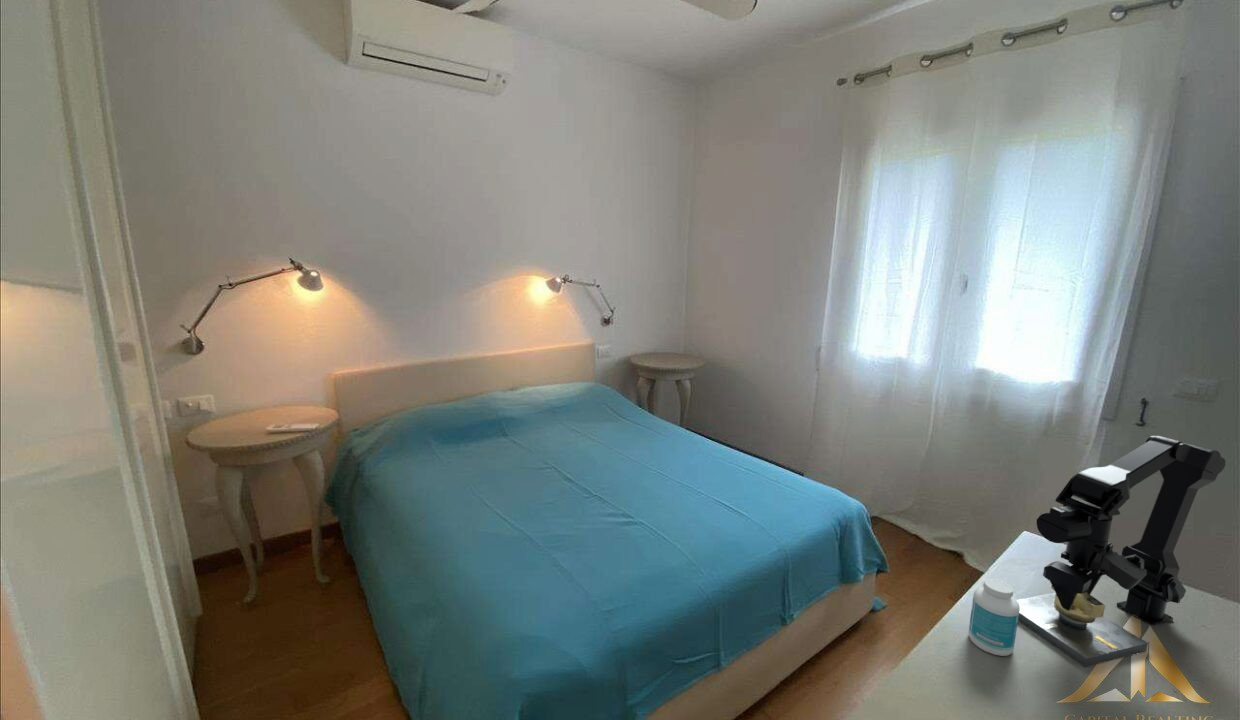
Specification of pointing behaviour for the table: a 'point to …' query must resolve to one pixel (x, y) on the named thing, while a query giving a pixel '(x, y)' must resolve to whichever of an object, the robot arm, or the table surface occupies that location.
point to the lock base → (1078, 633)
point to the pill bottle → (994, 617)
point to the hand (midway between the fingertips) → (1076, 601)
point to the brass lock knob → (1081, 608)
